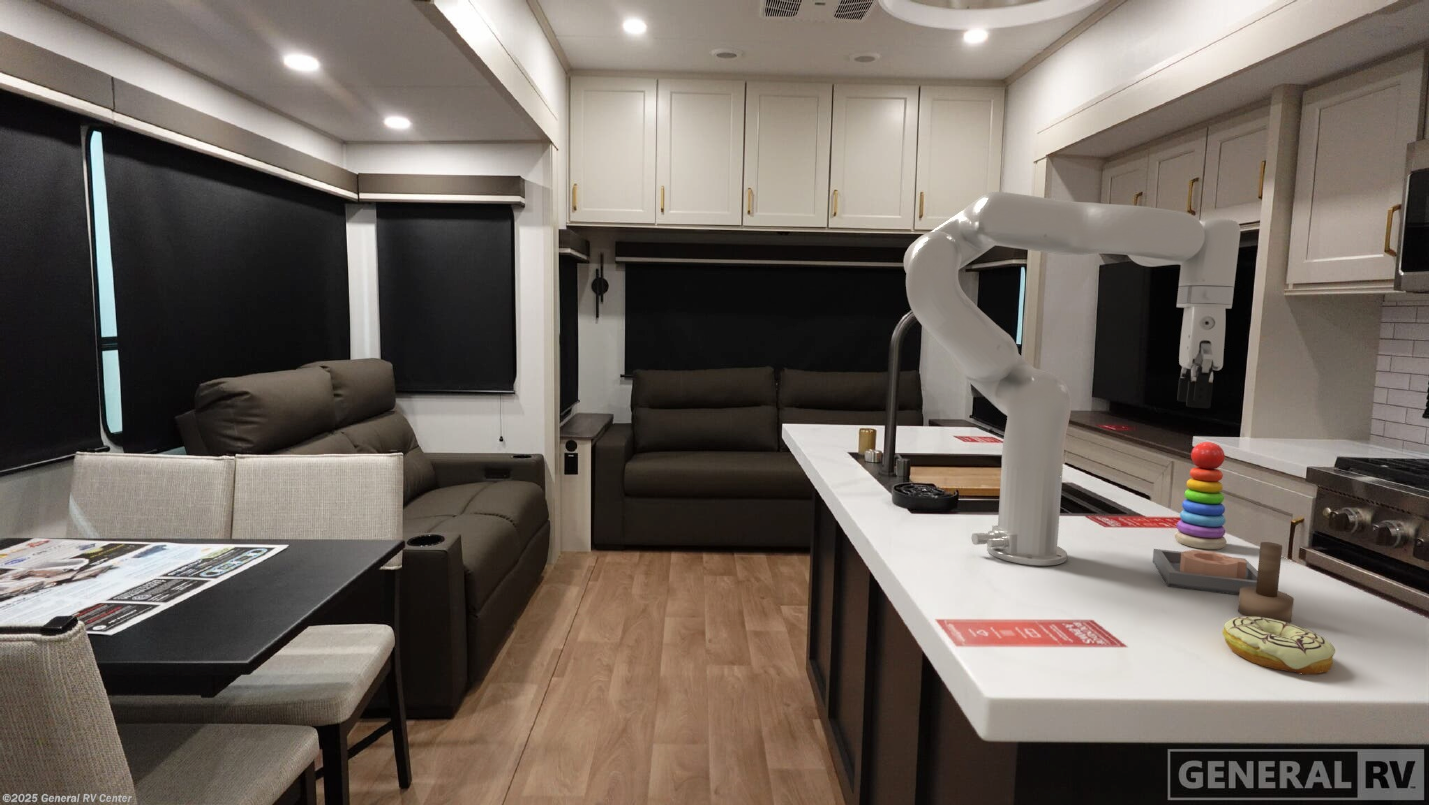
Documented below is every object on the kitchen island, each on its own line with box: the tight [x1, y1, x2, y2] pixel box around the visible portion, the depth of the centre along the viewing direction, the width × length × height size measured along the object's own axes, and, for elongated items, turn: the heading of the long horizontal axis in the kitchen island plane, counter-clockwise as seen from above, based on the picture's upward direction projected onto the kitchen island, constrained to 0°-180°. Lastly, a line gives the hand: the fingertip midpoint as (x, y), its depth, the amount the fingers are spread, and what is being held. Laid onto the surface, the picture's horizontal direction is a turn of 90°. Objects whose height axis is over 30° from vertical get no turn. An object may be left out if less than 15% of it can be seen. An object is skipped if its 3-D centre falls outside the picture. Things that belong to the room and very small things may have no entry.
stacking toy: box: [1174, 441, 1227, 550], centre depth 138 cm, size 8×8×19 cm
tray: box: [1152, 548, 1258, 596], centre depth 120 cm, size 13×13×2 cm
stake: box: [1237, 541, 1295, 624], centre depth 105 cm, size 6×6×10 cm
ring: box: [1180, 549, 1247, 579], centre depth 119 cm, size 7×8×3 cm
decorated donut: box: [1222, 615, 1336, 675], centre depth 92 cm, size 10×11×4 cm
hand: (1192, 404), depth 124 cm, fingers open, 9 cm apart
